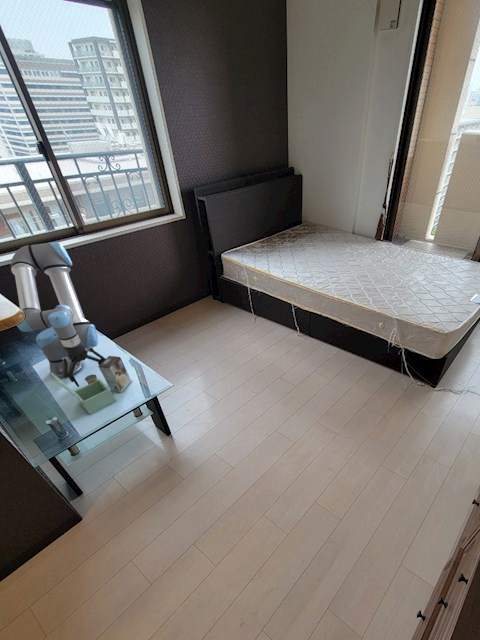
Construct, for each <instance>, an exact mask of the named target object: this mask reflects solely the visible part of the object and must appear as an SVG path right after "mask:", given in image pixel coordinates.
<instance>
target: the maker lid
mask: <svg viewBox="0 0 480 640" xmlns="http://www.w3.org/2000/svg"><path fill="white" fill-rule="evenodd" d="M50 375H51V377H53V378H54V379H55V380H56V382H57V383H58V384H59V385H60V386H61V387H63V388H64V389H65V390H66V391H67V392H68V393H70V394H71V396H73V397H75V398H76V399H77V400H79V401H81V402H83V400H82V399H81V398H80V397H79V396H78V395H77V394H76V393H75V392H74V391H75V390H74V389H72V388H71V387H70V386H69V385H68V384H66V382H65V381H63V380H62V379H60V378H59V377H57V376H56V375H55V374H53V373H51V372H50ZM79 401H78V402H79Z"/></svg>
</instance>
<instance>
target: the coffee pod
mask: <svg viewBox="0 0 480 640" xmlns="http://www.w3.org/2000/svg"><path fill="white" fill-rule="evenodd" d="M97 380H99V378H98V376H97V374H89V375H87V376H86V377H85V378H84V381H85V382H86V383H87V385H89V384H91V383H93V382H95V381H97Z"/></svg>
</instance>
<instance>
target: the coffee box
mask: <svg viewBox="0 0 480 640" xmlns="http://www.w3.org/2000/svg"><path fill="white" fill-rule="evenodd" d="M97 367H98V368H99V370H100V372H101V374H102V377H103V378H104V380H105V382H106V385H108V386H107V387H108V388H109V389H110V391H111V392H120V393H123V391H124V390H125V389H126V388H127V387H128V385H129V384H131V382H132V380H131V377H130V375H129V373H128V371H127V368H126V366H125V364H124V363H123V359H122V358H121V356H115V355H108V356H107V357H105V360H104V361H103V362H102V363H101V364H100V365H99V364H98V366H97Z"/></svg>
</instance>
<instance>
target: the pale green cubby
mask: <svg viewBox="0 0 480 640" xmlns="http://www.w3.org/2000/svg"><path fill="white" fill-rule="evenodd" d="M73 391H74V392H75V393H76V394H77V395H78V396H79V397H80V398H81V399H82V400H83V402H81V401H79V400H78V399H77V400H78V402H79V404H80V405H81V406H82V407H83V408H84V410H85V411H86V412H87V413H88V414H89V415H92V414H93V413H95V412H97V411H99V410H102V409H103V408H105V407H107V406H109V405H110V404H113V403H114V402H116V399H115V397H114V394H113V393H112V391H111V389H110V388H109V386H107V384H106V385H105V383H104V382H103V381H102V380H101V379H98V380H97V381H95V382H93V383H91V384H89V385H88V384H86V385H85V386H82V387H80V388H78V389H76V390H73Z"/></svg>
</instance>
